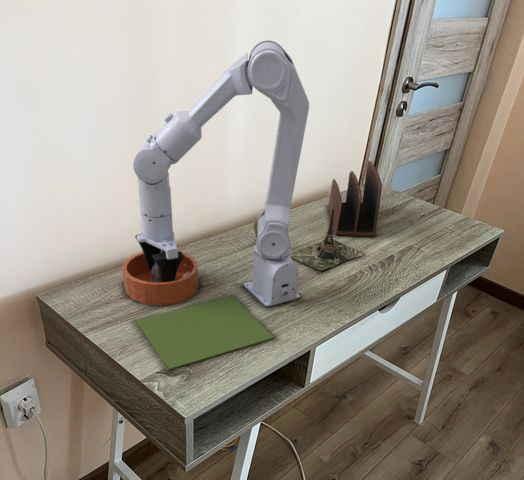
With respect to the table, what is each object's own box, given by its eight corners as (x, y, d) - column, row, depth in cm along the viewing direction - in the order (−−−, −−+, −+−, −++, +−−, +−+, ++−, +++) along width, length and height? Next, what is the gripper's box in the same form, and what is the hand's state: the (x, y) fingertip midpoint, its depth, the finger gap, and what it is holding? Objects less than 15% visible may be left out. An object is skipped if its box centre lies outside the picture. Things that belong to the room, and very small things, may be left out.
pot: (209, 294, 106) (209, 274, 103) (139, 312, 100) (137, 290, 97) (181, 263, 116) (180, 244, 113) (115, 277, 110) (113, 257, 107)
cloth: (273, 338, 95) (273, 337, 95) (169, 370, 86) (169, 368, 86) (232, 297, 106) (232, 295, 106) (135, 321, 97) (135, 320, 97)
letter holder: (363, 207, 148) (372, 156, 139) (374, 237, 132) (385, 181, 123) (328, 205, 147) (334, 154, 139) (335, 235, 132) (342, 179, 123)
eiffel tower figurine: (330, 239, 130) (338, 186, 122) (363, 254, 124) (373, 199, 116) (287, 257, 121) (292, 200, 113) (320, 273, 115) (327, 215, 107)
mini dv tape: (163, 274, 111) (161, 248, 107) (170, 275, 111) (168, 249, 107) (153, 294, 104) (150, 267, 101) (160, 295, 104) (158, 268, 101)
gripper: (122, 201, 102) (129, 264, 110) (149, 230, 92) (155, 297, 100) (157, 196, 105) (161, 258, 113) (187, 223, 95) (189, 289, 103)
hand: (160, 276), depth 106 cm, fingers closed on mini dv tape, 7 cm apart
